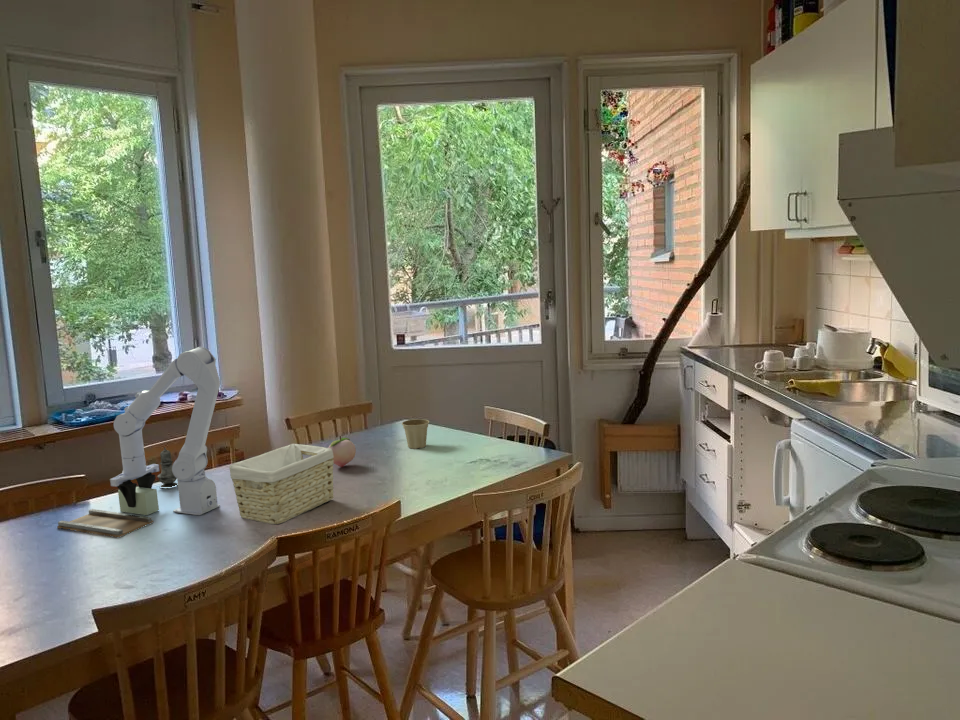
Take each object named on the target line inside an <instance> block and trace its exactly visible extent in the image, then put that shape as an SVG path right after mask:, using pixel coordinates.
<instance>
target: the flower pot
mask: <svg viewBox="0 0 960 720" xmlns="http://www.w3.org/2000/svg"><path fill="white" fill-rule="evenodd" d="M429 423H430V420H428V419H423V418H416V419H415V418H414V419H412V418H411V419H406V420H404V421H402V422H401V425H402V426H403V429H404V435H405V439H406V444H407V448H409V449H414V450H418V449H423V448H425V447H427V436H428V427H429Z"/></svg>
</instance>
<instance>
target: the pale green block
mask: <svg viewBox="0 0 960 720" xmlns="http://www.w3.org/2000/svg"><path fill="white" fill-rule="evenodd" d="M157 491H158V490H157V489H156V488H143V487H139V486H136V492H135V497H136V507H134V508H133V507H128V504H127V502H126V500H125V498H124V496H123V494H122V492H121V491H120V490H119V489H117V494H118V501H119V510H120V512H119V513H126V514H134V515H141V516H149V515H151V514H153V513H156V512H158V510H159V511H160V509H159V499H158V498H159V497H158V492H157Z"/></svg>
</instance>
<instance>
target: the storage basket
mask: <svg viewBox="0 0 960 720" xmlns="http://www.w3.org/2000/svg"><path fill="white" fill-rule="evenodd" d="M304 455H305V456H309V457H306V458H304ZM333 457H334V456H333V451H332V449H331V448H328V447H325V446H324V447H323V446H318V445H311V444H310V445H307V444H300V443H299V444H298V443H291V444H289V445H286V446H282V447H279V448H276V449H273V450H270V451H268V452H265V453H262V454H260V455H256V456H253V457H250V458H247V459H245V460H241V461H237V462H234V463H232V464H231V465H229V473H230V478H231V481H232V483H233V488H234V494H235V497H236V503H237V506H238V510H239V516H240V517H241V518H242V519H246V520H251V521H254V522H255V521H256V522H260V523H264V524H265V523H266V524H269V525H279V524H283V523H286V522H287V521H289V520H291V519H294V517H295V518H296V517H298V516H300V515H301V514H303V513H307V512H308V511H310V510H313V509H315V508H317V507H318V506H321V505H323V504H324V503H327V502H330V501H331V500H333V499H334V498H335V496H334V465H335V464H334V460H333Z"/></svg>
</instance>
